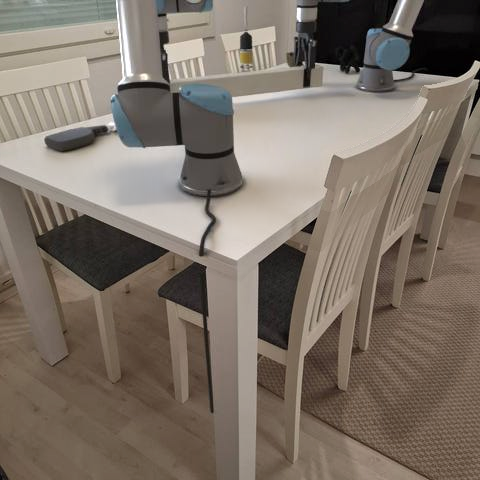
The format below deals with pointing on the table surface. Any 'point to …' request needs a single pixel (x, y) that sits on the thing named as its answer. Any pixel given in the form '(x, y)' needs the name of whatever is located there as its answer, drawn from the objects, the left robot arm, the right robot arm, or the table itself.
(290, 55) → the cup
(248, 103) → the table surface
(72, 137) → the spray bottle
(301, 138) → the table surface
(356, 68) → the squiggle
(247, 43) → the filter
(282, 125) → the table surface
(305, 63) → the right robot arm
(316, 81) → the bar
